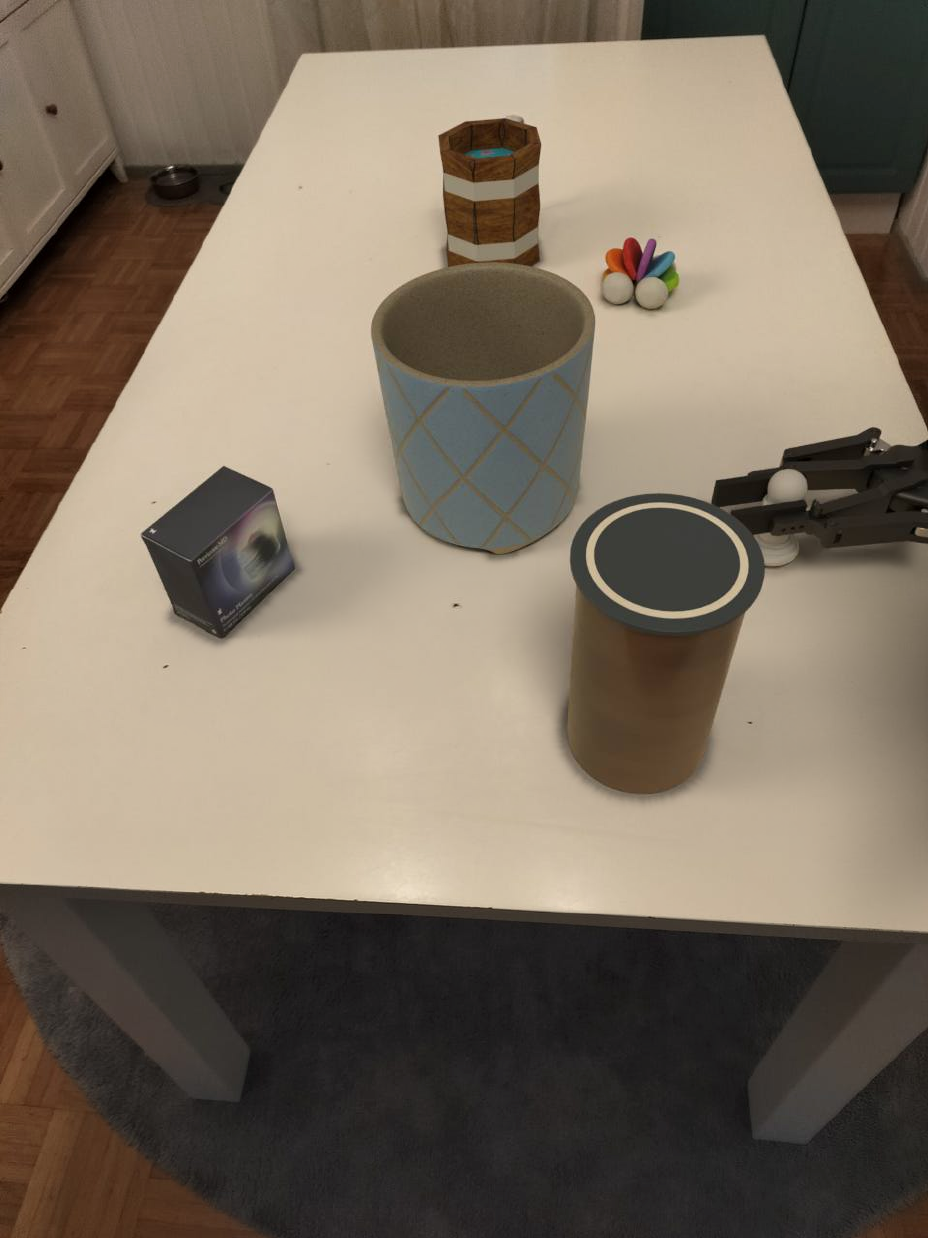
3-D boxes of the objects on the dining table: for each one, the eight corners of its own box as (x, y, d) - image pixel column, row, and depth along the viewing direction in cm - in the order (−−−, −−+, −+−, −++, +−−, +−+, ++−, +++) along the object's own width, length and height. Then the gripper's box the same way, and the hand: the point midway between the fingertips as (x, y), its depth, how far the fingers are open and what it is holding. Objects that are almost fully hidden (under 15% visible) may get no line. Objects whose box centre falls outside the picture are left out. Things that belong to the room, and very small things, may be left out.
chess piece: (793, 528, 84) (817, 454, 77) (801, 569, 81) (827, 495, 74) (736, 527, 85) (754, 453, 78) (741, 567, 81) (761, 494, 74)
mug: (526, 286, 115) (525, 167, 104) (429, 274, 119) (419, 158, 107) (564, 216, 127) (567, 103, 116) (475, 207, 130) (470, 96, 119)
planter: (359, 512, 89) (324, 338, 74) (471, 414, 99) (461, 241, 83) (512, 591, 81) (508, 414, 66) (619, 477, 91) (638, 298, 75)
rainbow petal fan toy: (610, 272, 116) (614, 217, 111) (683, 282, 114) (691, 227, 108) (592, 305, 112) (596, 250, 106) (668, 317, 109) (676, 261, 103)
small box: (224, 643, 79) (190, 562, 71) (172, 615, 82) (134, 534, 74) (299, 568, 85) (275, 486, 77) (249, 544, 87) (221, 462, 79)
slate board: (805, 589, 54) (807, 583, 53) (638, 665, 51) (639, 660, 50) (687, 475, 61) (688, 470, 60) (535, 536, 58) (535, 531, 57)
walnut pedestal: (734, 757, 69) (793, 586, 54) (614, 817, 66) (641, 656, 51) (653, 659, 76) (685, 482, 60) (542, 710, 73) (545, 539, 57)
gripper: (1008, 565, 77) (746, 605, 75) (918, 448, 87) (687, 481, 86) (1047, 501, 71) (765, 543, 70) (946, 383, 81) (699, 418, 80)
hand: (722, 509), depth 78 cm, fingers closed on chess piece, 3 cm apart
